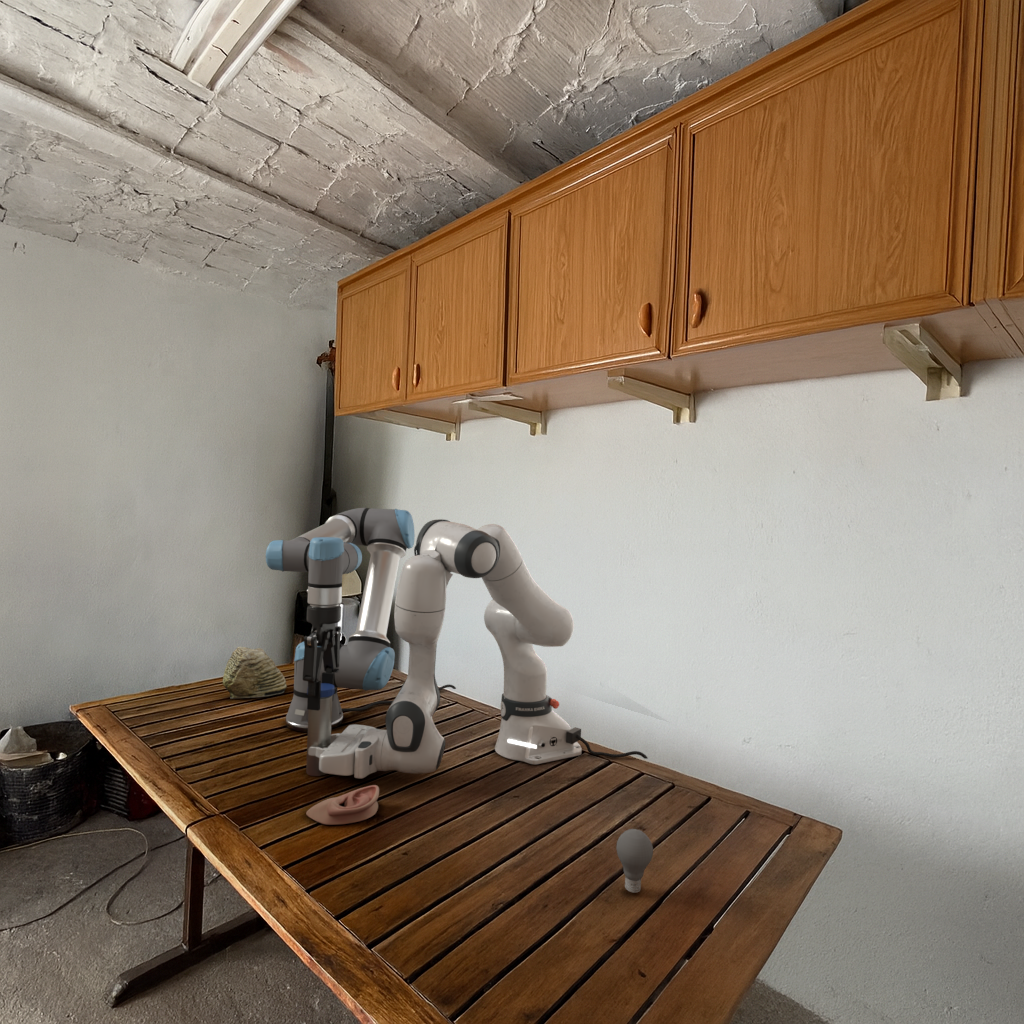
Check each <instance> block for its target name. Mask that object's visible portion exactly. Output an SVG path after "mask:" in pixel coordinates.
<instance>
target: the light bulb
mask: <svg viewBox="0 0 1024 1024" xmlns="http://www.w3.org/2000/svg"><path fill="white" fill-rule="evenodd" d="M615 849H616V854H617V857H618V859H619V861H620V863H621V865H622V867H623V873H624V874H623V875H624V876H625V878H624V888H625V890H627V891H628V892H630V893H634V894H635V893H639V892H640V891H641V889H642V887H641V886H642V879H643V877H644V875H645V871H646V868H647V867H648V866H649V864H650V863H651V861H652V859H653V855H654V847H653V843H652V841H651V838H649V836H648V835H647V834H646V833H645V832H643V831H642V830H641V829H636V828H629V829H627V830H625V831H623V832H622V833H621V834H620V835H619V837H618V839H617V841H616V847H615Z"/></svg>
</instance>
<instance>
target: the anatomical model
mask: <svg viewBox="0 0 1024 1024" xmlns="http://www.w3.org/2000/svg"><path fill="white" fill-rule="evenodd" d="M379 795H380V787H379V786H378V785H376V784H372V785H367V786H364V787H360V788H356V789H354V790H352V791H349V792H347V793H344V794H341V795H339V796H335V797H330V798H327V799H325V800H322V801H320V802H318V803H316V804H315V805H312V806H311V807H310V808H309V809H308V810H306V812H305V813H306V816H307V817H308V818H309V819H311V820H313V821H315V822H317V823H319V824H321V825H327V826H333V825H346V824H353V823H357V822H362V821H365V820H367V819H369V818H372V817H373V816H374V815H376V814H377V811H378V810H379V803H378V799H379Z"/></svg>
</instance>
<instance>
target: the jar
mask: <svg viewBox="0 0 1024 1024" xmlns="http://www.w3.org/2000/svg"><path fill="white" fill-rule="evenodd" d="M331 721H332V696H329V697H323V698H320V710H318V711H317V710H309V712H308V732H307V740H306V764H305V765H306V766H305V767H306V768H305V769H306V771H305V772H306V775H308V776H311V777H321V776H324V775H327V773H323V772H322V771H320V770H319V758H318V757H316V756H310V755H309V754H308V749H309V748H310V747H311V746H312V745H314V746H315V745H316V746H319V748H328V747H329V746H330V745H331V735H332V729H331Z"/></svg>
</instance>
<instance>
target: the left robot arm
mask: <svg viewBox="0 0 1024 1024" xmlns="http://www.w3.org/2000/svg"><path fill="white" fill-rule="evenodd" d="M415 537H416V536H415V524H414V519H413V516H412V514H411V512H409V510H406V509H398V508H376V507H375V508H374V507H373V508H372V507H358V508H353V509H348V510H345V511H342V512H339V513H336V514H334V515H332V516H330V517H329V518H328V519H326V521H325V522H324V524H322V525H320V526H318V527H315V528H313V529H311V530H309V531H307V532H304V533H303V534H300V535H299V536H297V537H295V538H292V539H290V540H287V539H286V540H285V539H275V540H272V541H270V542H269V544H268V545H267V547H266V550H265V563H266V565H267V567H268V568H269V569H270V570H271V571H272V570H273V571H280V572H296V573H308V578H307V579H308V580H307V581H308V582H307V583H308V584H307V589H306V593H307V604H308V605H307V607H306V622H307V623H309V624H311V625H312V626H311V631H310V634H309V635H305V636H304V637H303V641H302V642H299V643H298V644H297V645H296V647H295V654H294V659H293V661H294V672H293V695H292V696H293V697H292V699H291V702H290V704H289V708H288V711H287V713H286V715H285V726H286V728H287V729H289V730H291V731H294V732H295V731H296V732H301V733H308V712H309V710H317V711H318V710H320V694H321V683H328V684H332V685H334V688H335V693H334V694H333V695H332V721H331V730H332V729H335V728H337V727H339V726H340V725H342V723H343V722H344V713H343V712H362V711H365V710H367V709H369V708H371V707H374V706H377V705H379V706H380V705H388V704H389V705H391V704H392V702H393V701H394V700H380V701H374V702H371V703H369V704H367V705H365V706H362V707H356V708H355V707H346V708H344V707H343V708H342V706H341V702H340V699H339V695H338V689H352V690H362V691H363V690H364V691H380V690H382V689H384V688H385V687H386V686H387V684H388V683H389V681H390V678H391V677H392V673H393V671H394V666H395V658H396V654H395V650H394V648H392V647H391V641H390V640H389V639H388V637H387V634H388V627H389V622H390V615H391V611H392V604H393V599H394V593H395V587H396V581H397V575H398V571H399V565H400V560H401V559H402V558H404V557H405V556H406V553H407V549H408V550H410V549H412V548H413V547H414V546H415V545H414V544H415ZM359 546H364V547H366V550H367V552H368V553H369V554H370V557H369V562H368V567H367V572H366V576H365V577H366V578H365V581H364V582H365V583H364V587H363V592H362V596H361V597H362V598H361V603H360V609H359V613H358V617H357V624H356V629H355V632H354V633H353V634H351V635H350V636H348V641H347V644H341V633H342V632H341V631H342V626H341V625H339V626H338V625H336V624H337V623H339V622H341V619H342V605H341V604H342V601H343V599H342V598H343V575H346V574H347V575H348V574H350V573H352V572H354V571H356V570H357V569H358V568H359V567H360V566H361V565H362V561H363V554H362V551H361V549H360V548H359ZM447 688H452V690H456V689H457V687H456V686H455V685H453V684H444V685H443V686H440V687H438V689H439V692H440V691H442V690H444V689H447ZM307 689H308V695H307Z"/></svg>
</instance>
